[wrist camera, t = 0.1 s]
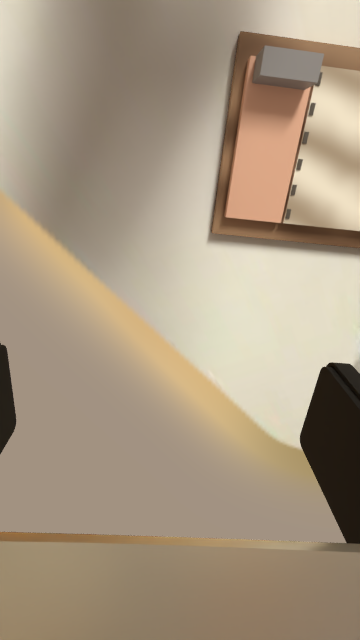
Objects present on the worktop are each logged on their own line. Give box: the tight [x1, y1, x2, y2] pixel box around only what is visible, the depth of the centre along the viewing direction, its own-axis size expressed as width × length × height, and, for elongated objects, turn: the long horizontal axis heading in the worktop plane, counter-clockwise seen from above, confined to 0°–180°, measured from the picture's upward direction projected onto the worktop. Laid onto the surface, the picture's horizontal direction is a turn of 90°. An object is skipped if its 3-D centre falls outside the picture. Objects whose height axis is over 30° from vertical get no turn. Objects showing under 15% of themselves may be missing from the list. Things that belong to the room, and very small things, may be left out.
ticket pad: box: [211, 31, 360, 248], centre depth 35 cm, size 18×22×2 cm
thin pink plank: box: [224, 45, 324, 223], centre depth 32 cm, size 14×6×4 cm, turn 174°
